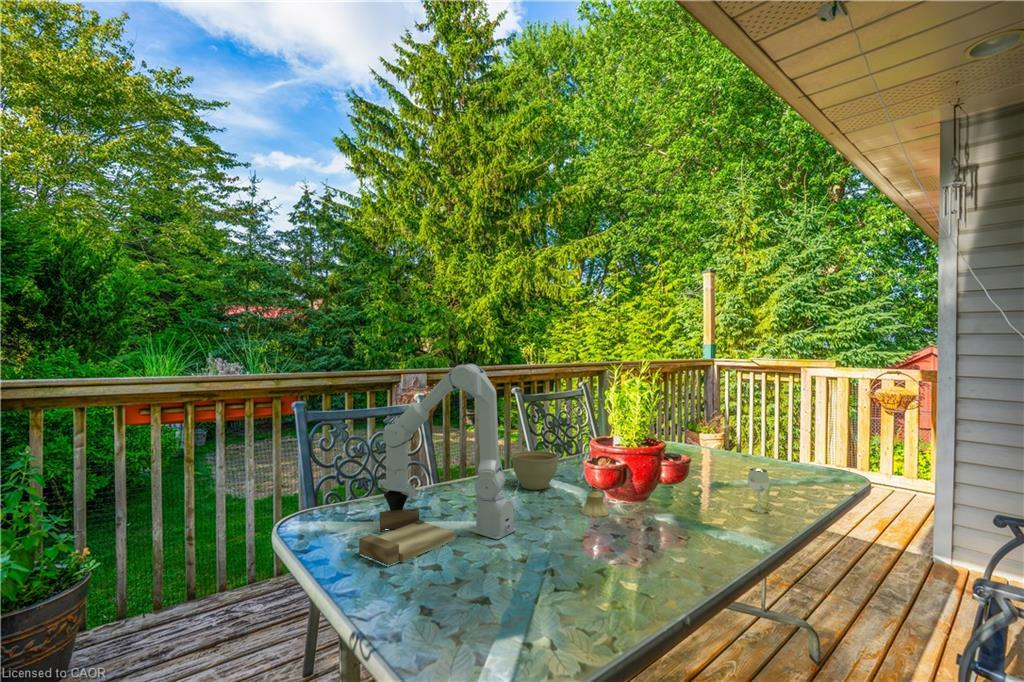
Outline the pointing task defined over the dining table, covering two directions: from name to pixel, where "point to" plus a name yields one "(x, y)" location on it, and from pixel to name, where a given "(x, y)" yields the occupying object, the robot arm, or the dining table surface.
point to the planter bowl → (534, 468)
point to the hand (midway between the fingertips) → (396, 518)
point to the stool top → (405, 542)
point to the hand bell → (594, 501)
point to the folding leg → (398, 518)
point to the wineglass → (758, 483)
